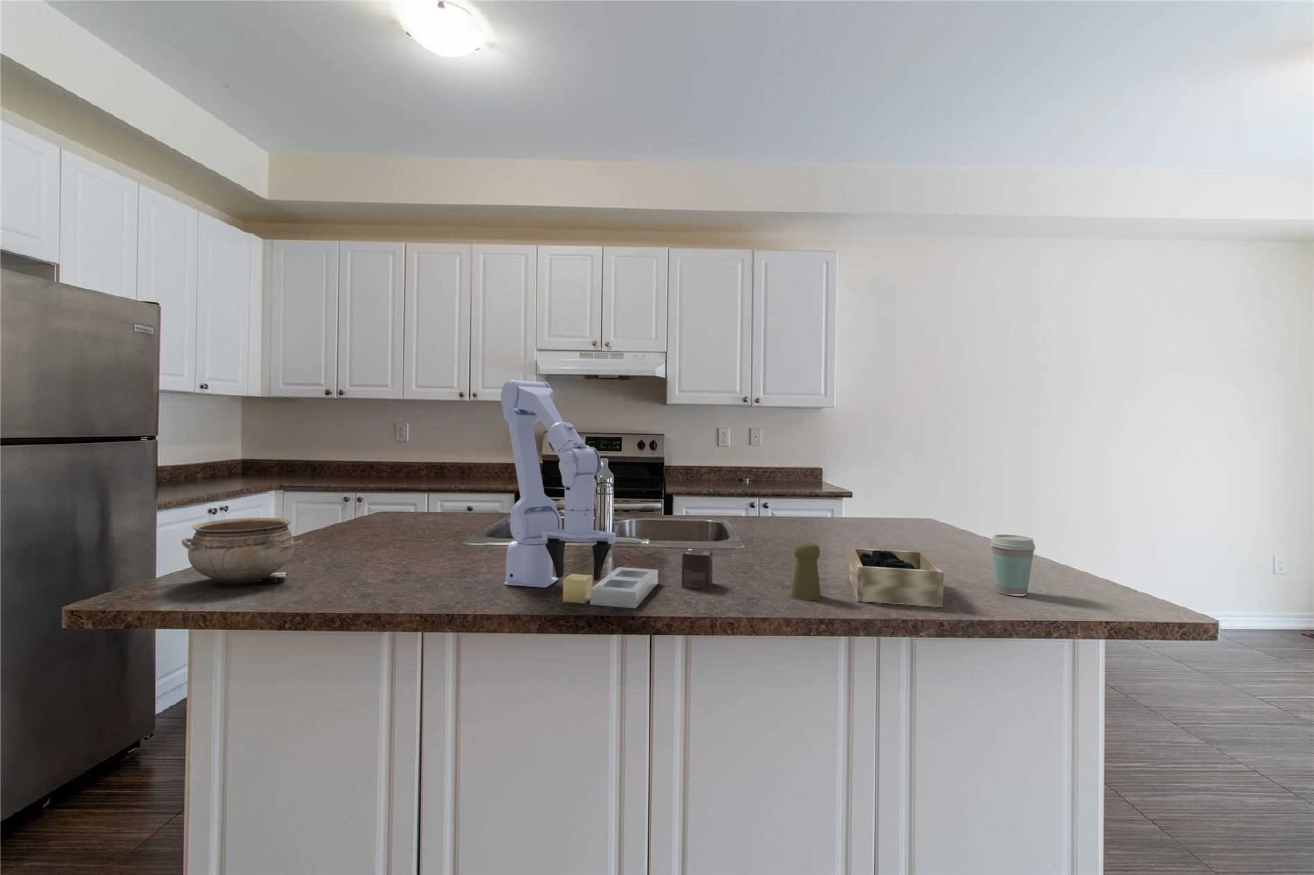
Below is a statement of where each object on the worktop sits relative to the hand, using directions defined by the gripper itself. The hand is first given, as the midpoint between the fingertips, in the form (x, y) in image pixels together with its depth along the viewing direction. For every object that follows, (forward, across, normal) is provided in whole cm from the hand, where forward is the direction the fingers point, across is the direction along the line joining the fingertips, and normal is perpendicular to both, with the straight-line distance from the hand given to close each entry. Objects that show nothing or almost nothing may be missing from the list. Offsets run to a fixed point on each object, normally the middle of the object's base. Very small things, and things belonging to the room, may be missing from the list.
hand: (578, 578), depth 130 cm
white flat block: (+4, +8, +7) cm, 11 cm away
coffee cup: (+5, +87, +30) cm, 92 cm away
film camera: (+5, +62, +24) cm, 66 cm away
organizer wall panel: (+4, +54, +24) cm, 60 cm away
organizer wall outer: (+4, +69, +24) cm, 74 cm away
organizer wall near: (+4, +62, +14) cm, 64 cm away
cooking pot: (+4, -72, -6) cm, 72 cm away
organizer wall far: (+4, +62, +34) cm, 71 cm away
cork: (+4, +44, +15) cm, 47 cm away
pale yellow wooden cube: (+4, 0, 0) cm, 4 cm away
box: (+4, +21, +18) cm, 28 cm away
